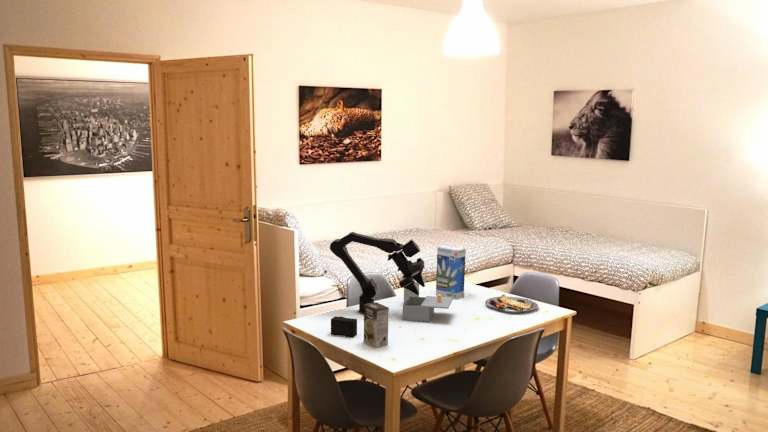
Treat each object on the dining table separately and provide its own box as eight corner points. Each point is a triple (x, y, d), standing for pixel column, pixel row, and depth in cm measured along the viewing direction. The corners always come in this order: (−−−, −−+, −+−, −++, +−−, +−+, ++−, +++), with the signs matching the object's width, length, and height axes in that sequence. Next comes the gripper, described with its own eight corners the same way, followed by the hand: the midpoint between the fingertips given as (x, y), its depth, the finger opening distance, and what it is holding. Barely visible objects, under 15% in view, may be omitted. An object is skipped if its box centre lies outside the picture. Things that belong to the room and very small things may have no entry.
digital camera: (358, 333, 276) (358, 318, 274) (353, 337, 270) (353, 321, 269) (336, 330, 279) (336, 315, 278) (330, 334, 274) (330, 318, 273)
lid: (420, 306, 291) (421, 298, 290) (426, 297, 307) (426, 289, 306) (448, 308, 288) (448, 300, 288) (452, 298, 304) (452, 291, 304)
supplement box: (419, 307, 315) (419, 282, 313) (403, 307, 315) (404, 281, 313) (418, 303, 322) (418, 278, 320) (403, 302, 322) (404, 278, 320)
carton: (402, 320, 294) (402, 305, 293) (409, 310, 310) (409, 296, 308) (428, 322, 291) (429, 307, 290) (433, 312, 307) (434, 298, 306)
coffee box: (363, 342, 265) (363, 303, 263) (375, 339, 269) (376, 301, 267) (375, 348, 258) (375, 309, 256) (388, 345, 262) (389, 306, 259)
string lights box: (435, 295, 337) (436, 246, 333) (443, 292, 343) (444, 244, 339) (456, 299, 328) (458, 250, 325) (464, 296, 334) (466, 247, 330)
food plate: (476, 305, 318) (476, 298, 318) (505, 297, 334) (505, 291, 333) (517, 318, 300) (518, 311, 300) (546, 309, 316) (547, 302, 315)
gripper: (409, 262, 288) (429, 290, 289) (421, 248, 305) (440, 275, 306) (390, 273, 293) (410, 301, 294) (403, 259, 310) (422, 285, 311)
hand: (421, 290), depth 301 cm, fingers open, 9 cm apart
